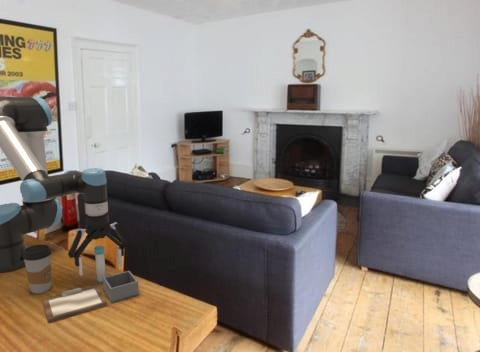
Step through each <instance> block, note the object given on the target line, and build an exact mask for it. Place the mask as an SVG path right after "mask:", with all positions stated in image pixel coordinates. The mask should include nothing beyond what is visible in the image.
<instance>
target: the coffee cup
mask: <svg viewBox="0 0 480 352" xmlns="http://www.w3.org/2000/svg"><path fill="white" fill-rule="evenodd" d="M51 251H52V250H51V248H50V246H49V245H47V244H36V245H31V246H29V247H27V248H26V249H25V250H24V253H23V259H24V261H25V266H24V267H25V272H26V277H27V282H28V286H29V290H30V292H31V293H32V294H38V295H39V294H43V293H46V292H48V291H49V290H50V289H51V287H52V264H51V263H52V261H51V254H52V252H51Z"/></svg>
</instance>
